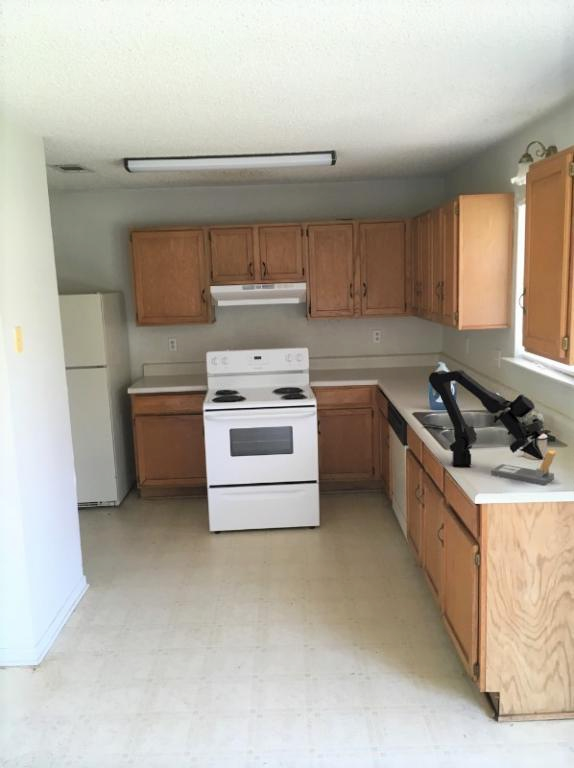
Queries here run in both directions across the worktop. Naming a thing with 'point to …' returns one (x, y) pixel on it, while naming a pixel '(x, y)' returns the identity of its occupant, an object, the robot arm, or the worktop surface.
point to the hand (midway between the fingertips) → (542, 459)
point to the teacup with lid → (542, 446)
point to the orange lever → (547, 461)
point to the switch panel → (523, 474)
